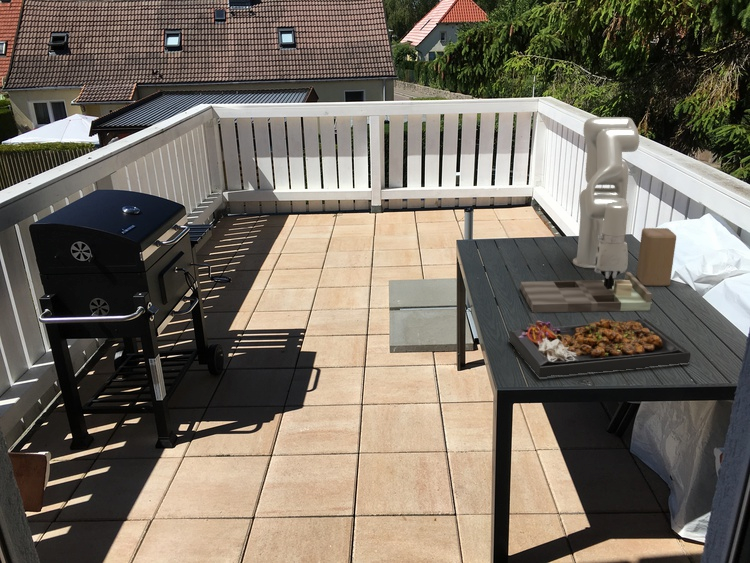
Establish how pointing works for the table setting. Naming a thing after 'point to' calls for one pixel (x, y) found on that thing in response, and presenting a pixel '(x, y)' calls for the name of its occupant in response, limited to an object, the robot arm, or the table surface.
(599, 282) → the board
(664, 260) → the block
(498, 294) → the table surface
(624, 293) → the birch block
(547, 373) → the food platter
